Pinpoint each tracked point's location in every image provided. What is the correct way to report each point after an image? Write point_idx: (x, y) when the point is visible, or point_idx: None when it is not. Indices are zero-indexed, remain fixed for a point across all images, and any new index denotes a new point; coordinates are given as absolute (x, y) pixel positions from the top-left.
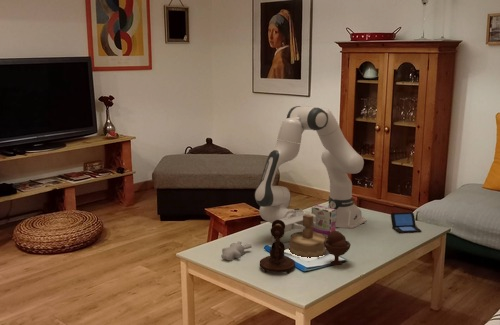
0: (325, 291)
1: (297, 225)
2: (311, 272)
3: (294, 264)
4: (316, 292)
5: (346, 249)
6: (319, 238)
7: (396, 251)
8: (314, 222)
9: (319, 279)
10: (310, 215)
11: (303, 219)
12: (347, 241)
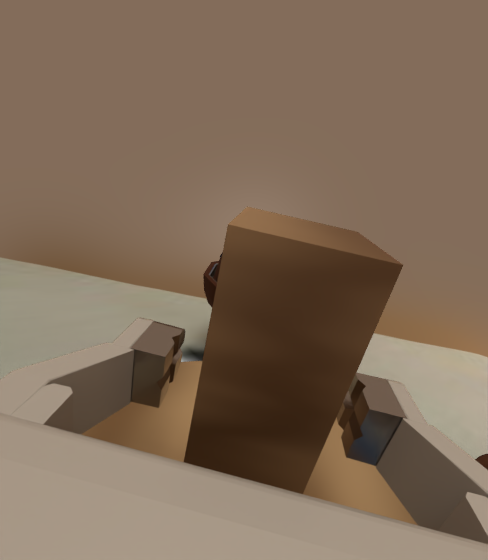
0: (408, 342)
1: (475, 469)
2: None
3: (482, 457)
4: (436, 354)
5: None
6: (186, 392)
7: (15, 269)
8: (147, 321)
9: (387, 370)
10: (263, 216)
11: (363, 335)
12: (215, 263)
